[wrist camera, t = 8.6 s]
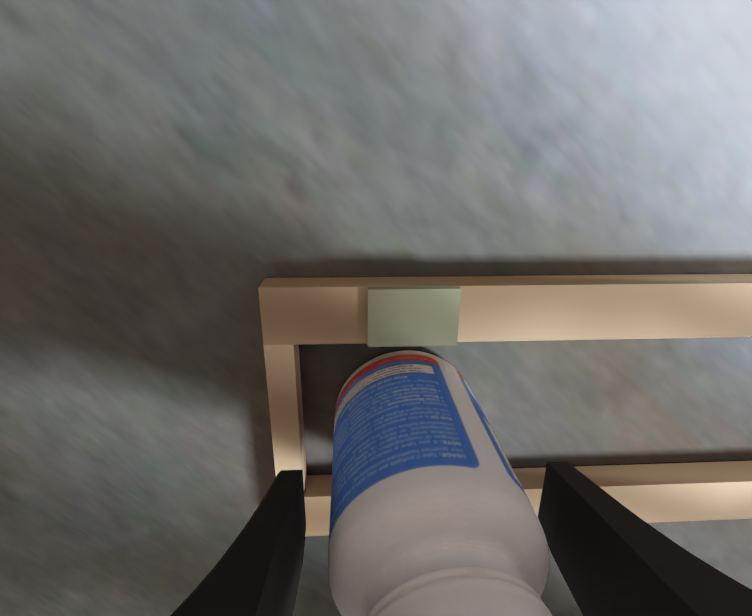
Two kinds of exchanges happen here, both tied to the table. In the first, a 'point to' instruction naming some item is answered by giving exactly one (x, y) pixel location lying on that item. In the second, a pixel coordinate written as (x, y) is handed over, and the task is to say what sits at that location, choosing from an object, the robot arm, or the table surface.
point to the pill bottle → (427, 500)
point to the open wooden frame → (508, 323)
